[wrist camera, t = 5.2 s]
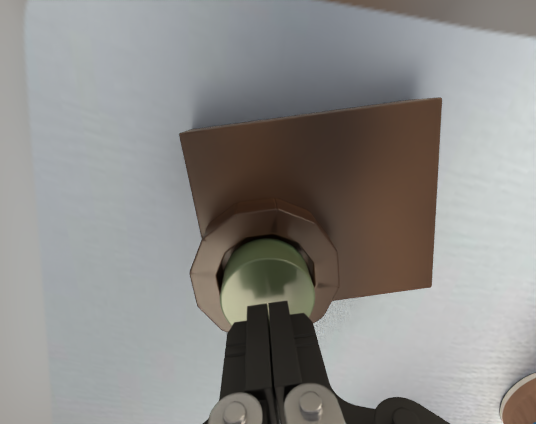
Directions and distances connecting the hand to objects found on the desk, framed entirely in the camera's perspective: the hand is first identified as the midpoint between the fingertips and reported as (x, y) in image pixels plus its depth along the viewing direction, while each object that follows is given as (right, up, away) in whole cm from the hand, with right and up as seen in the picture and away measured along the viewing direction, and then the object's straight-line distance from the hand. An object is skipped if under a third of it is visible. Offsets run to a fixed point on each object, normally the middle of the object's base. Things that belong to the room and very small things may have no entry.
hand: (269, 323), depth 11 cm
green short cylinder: (0, +1, +3) cm, 3 cm away
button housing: (+2, +5, +7) cm, 8 cm away
